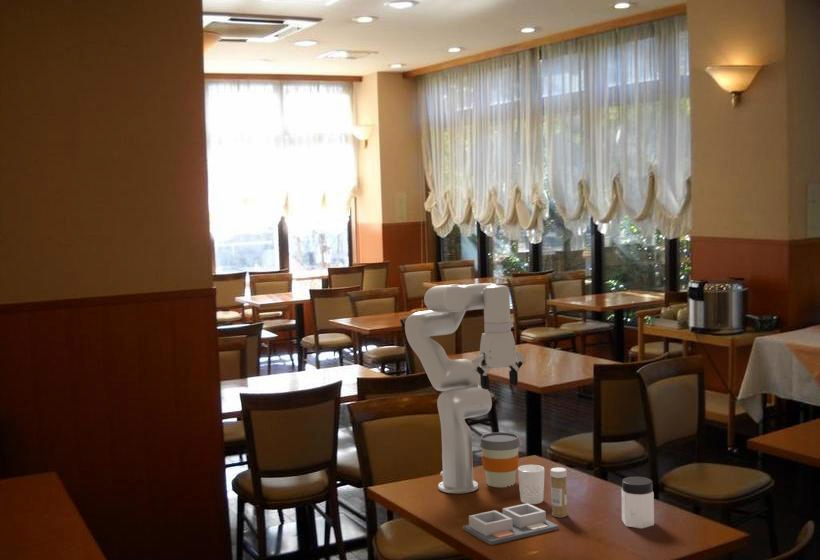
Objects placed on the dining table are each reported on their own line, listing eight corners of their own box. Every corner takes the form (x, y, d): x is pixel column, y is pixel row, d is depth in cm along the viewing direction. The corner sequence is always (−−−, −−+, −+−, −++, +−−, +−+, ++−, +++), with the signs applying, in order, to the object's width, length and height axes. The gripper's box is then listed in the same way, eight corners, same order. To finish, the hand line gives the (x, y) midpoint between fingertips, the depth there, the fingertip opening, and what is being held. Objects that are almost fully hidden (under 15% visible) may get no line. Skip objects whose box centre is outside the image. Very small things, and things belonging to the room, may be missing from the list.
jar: (617, 525, 257) (616, 482, 256) (626, 516, 264) (625, 474, 263) (650, 530, 253) (649, 486, 252) (657, 520, 260) (657, 478, 259)
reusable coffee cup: (527, 480, 302) (525, 434, 300) (509, 491, 291) (508, 443, 290) (492, 475, 308) (490, 430, 307) (474, 485, 298) (472, 439, 296)
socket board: (463, 529, 258) (462, 515, 258) (529, 514, 268) (528, 501, 268) (490, 545, 246) (490, 530, 246) (558, 529, 256) (558, 514, 256)
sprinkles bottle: (570, 515, 267) (570, 469, 266) (558, 519, 264) (557, 472, 263) (559, 511, 270) (558, 465, 269) (548, 514, 268) (547, 468, 267)
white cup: (544, 496, 285) (543, 464, 284) (545, 505, 277) (545, 471, 276) (518, 496, 285) (517, 464, 284) (518, 505, 277) (518, 472, 277)
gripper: (515, 324, 277) (517, 381, 278) (465, 329, 269) (467, 388, 271) (529, 326, 271) (531, 385, 272) (478, 332, 263) (480, 392, 264)
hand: (499, 386), depth 271 cm, fingers open, 9 cm apart
